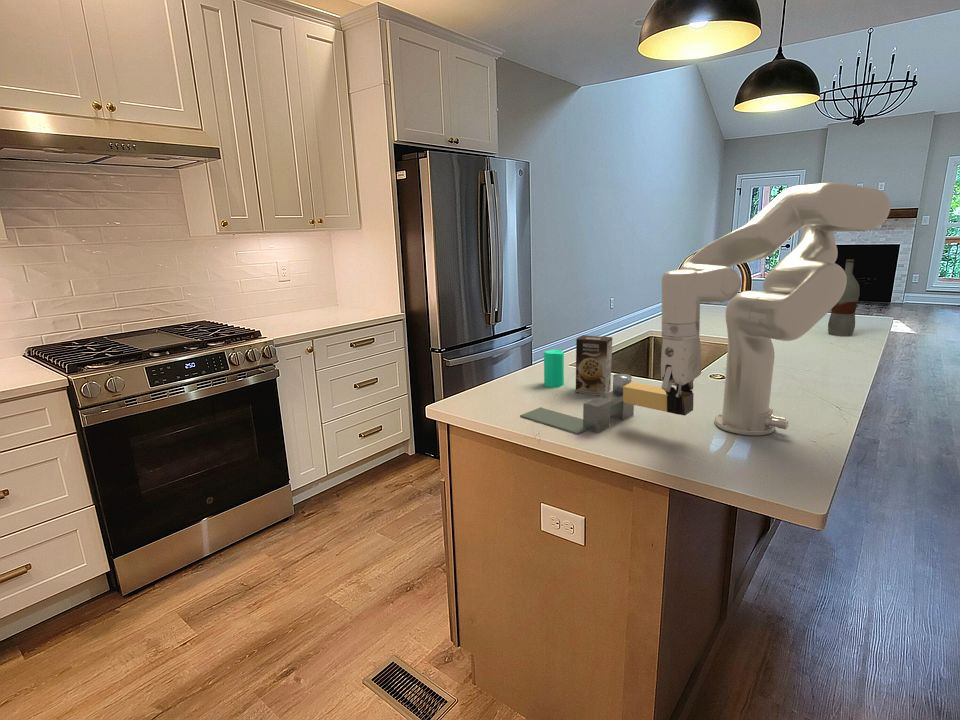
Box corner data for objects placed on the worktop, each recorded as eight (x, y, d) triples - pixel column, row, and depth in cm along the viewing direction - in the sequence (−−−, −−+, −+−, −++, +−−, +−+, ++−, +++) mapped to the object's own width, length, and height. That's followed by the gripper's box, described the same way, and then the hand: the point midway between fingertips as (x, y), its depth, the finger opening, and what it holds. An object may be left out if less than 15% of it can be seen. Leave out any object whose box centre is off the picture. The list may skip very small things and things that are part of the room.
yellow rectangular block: (693, 410, 114) (693, 393, 113) (684, 415, 112) (685, 398, 110) (632, 397, 125) (632, 381, 124) (623, 402, 122) (623, 386, 121)
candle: (548, 388, 156) (548, 349, 153) (541, 383, 161) (540, 345, 158) (566, 386, 157) (567, 347, 154) (558, 381, 163) (558, 343, 160)
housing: (634, 415, 131) (635, 375, 128) (598, 433, 120) (598, 390, 118) (618, 411, 134) (620, 372, 132) (582, 428, 124) (582, 386, 121)
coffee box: (574, 392, 151) (575, 338, 147) (581, 386, 156) (581, 334, 152) (605, 396, 146) (607, 340, 142) (611, 389, 152) (612, 336, 148)
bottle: (822, 332, 216) (831, 259, 209) (846, 332, 215) (856, 258, 207) (833, 336, 207) (843, 260, 200) (858, 336, 206) (869, 260, 198)
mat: (597, 424, 126) (597, 423, 126) (577, 434, 120) (577, 432, 120) (540, 408, 138) (540, 407, 138) (520, 416, 133) (520, 415, 133)
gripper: (678, 339, 101) (678, 425, 106) (715, 322, 112) (712, 401, 117) (643, 335, 107) (644, 418, 112) (681, 320, 118) (681, 395, 122)
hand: (679, 408), depth 114 cm, fingers closed on yellow rectangular block, 4 cm apart
